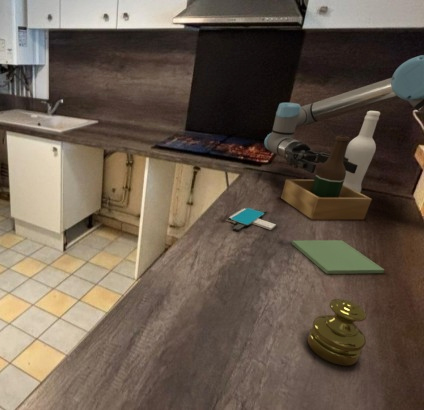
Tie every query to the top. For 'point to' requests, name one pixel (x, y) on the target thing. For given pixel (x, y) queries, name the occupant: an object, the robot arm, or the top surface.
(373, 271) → the mat
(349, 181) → the bottle
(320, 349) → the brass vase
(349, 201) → the open wooden box
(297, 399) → the top surface
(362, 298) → the top surface
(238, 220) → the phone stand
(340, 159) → the beer bottle
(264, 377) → the top surface
